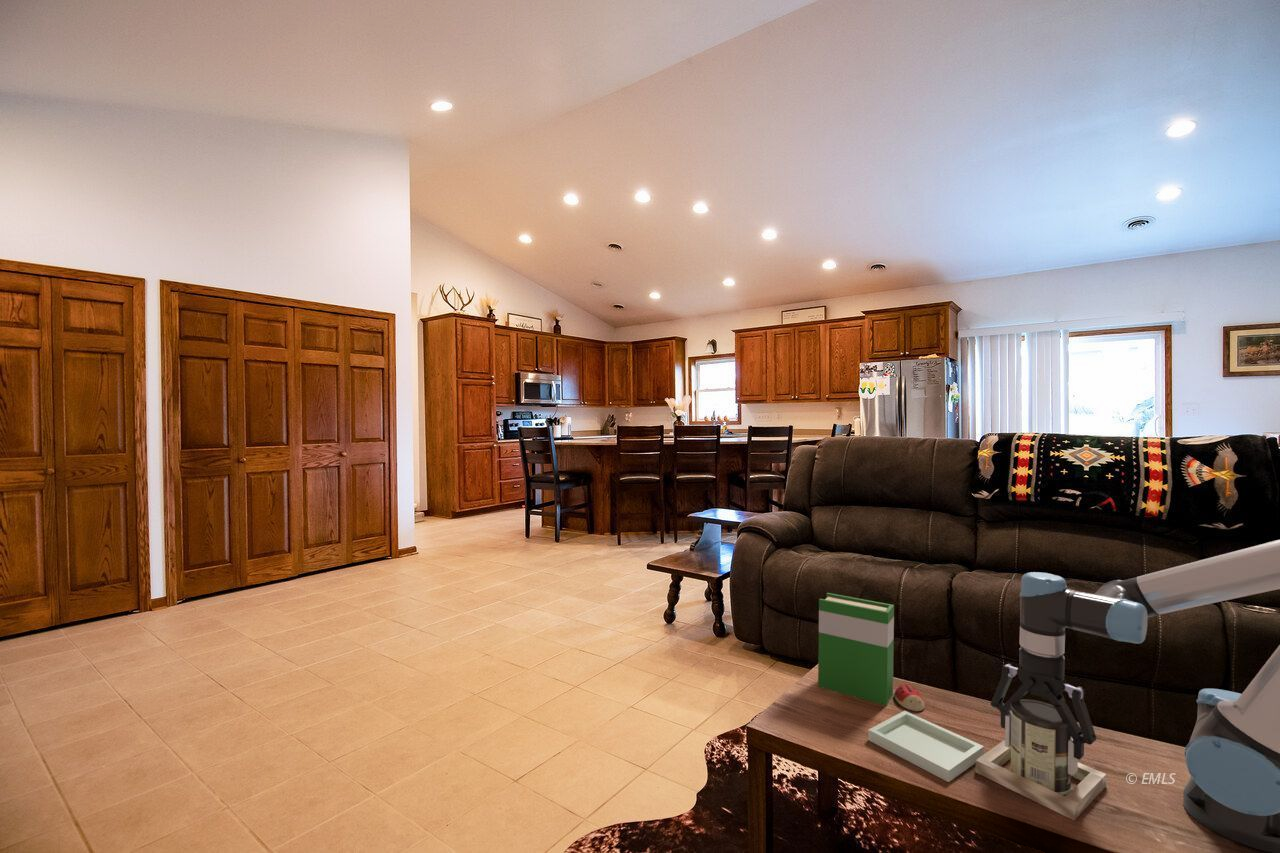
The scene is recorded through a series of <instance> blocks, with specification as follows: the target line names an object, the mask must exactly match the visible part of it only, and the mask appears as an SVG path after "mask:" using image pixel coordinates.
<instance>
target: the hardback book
mask: <svg viewBox="0 0 1280 853" xmlns="http://www.w3.org/2000/svg"><path fill="white" fill-rule="evenodd" d="M825 597H826V598H825V599H823V598H819V599H818V658H817V659H818V662H817V663H818V664H817V665H818V666H817V667H818V668H817V669H818V671H817V672H818V673H817V675H818V676H817V677H818V678H817V680H818V681H817V684H818V685H817V687H819V688H823V689H826V690H829V691H834V692H837V693H840V694H843V695H848V696H850V697H855V698H858V699H862V700H865V701H869V702H872V703H875V704H879V705H883V706H885V707H887V706H888V704H889V702H890V701H891V700H892V697H893V696H894V648H895V647H894V646H895V645H894V642H895V641H894V636H895V633H894V630H895V629H894V628H895V604H891V603H885V602H879V601H873V600H869V599H864V598H858V597H854V596H847V595H842V594H837V593H831V592H827V593H826V596H825Z"/></svg>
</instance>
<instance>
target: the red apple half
mask: <svg viewBox="0 0 1280 853" xmlns="http://www.w3.org/2000/svg"><path fill="white" fill-rule="evenodd" d="M893 697H894V700H895V702H897V703H898V704H899V705H900V706H901V707H903V708H904V709H906V710H909V711H913V712H920V711H922V710H924V709H925V707H926V703H925V700H924V698H923V696H922V695H921V693H920V692H919V691H918V690H917V689H916V688H914V687H912V686H911V685H908V684H904V683H903V684H901V685H899V686H897V688H896V689H895V691H894V692H893Z"/></svg>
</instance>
